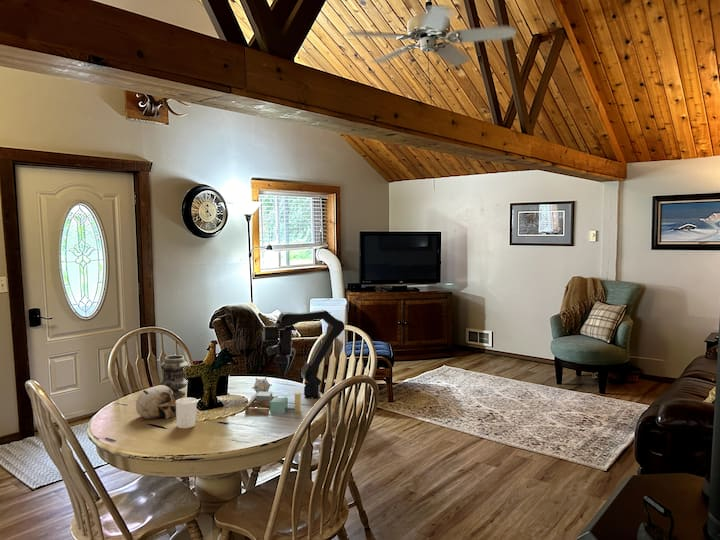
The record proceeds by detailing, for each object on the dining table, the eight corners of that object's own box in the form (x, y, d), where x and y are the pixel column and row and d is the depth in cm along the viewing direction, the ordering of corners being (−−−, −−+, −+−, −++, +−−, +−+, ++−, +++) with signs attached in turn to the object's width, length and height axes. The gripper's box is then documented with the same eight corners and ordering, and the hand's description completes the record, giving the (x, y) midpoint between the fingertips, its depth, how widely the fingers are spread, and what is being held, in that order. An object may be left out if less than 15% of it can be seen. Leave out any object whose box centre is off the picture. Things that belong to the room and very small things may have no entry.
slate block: (272, 402, 231) (272, 391, 231) (269, 407, 225) (269, 396, 225) (259, 402, 232) (259, 391, 231) (255, 406, 226) (255, 395, 225)
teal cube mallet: (302, 410, 222) (302, 392, 221) (298, 414, 216) (299, 396, 215) (274, 408, 223) (274, 390, 223) (270, 413, 217) (270, 394, 217)
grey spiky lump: (264, 403, 241) (269, 390, 236) (247, 396, 241) (251, 383, 236) (271, 389, 249) (275, 376, 243) (255, 382, 249) (259, 369, 243)
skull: (190, 410, 218) (187, 380, 216) (164, 428, 202) (161, 396, 200) (158, 407, 223) (155, 377, 221) (131, 424, 206) (127, 393, 204)
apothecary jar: (182, 399, 233) (182, 360, 232) (156, 398, 233) (156, 359, 232) (191, 391, 245) (191, 354, 244) (166, 390, 245) (166, 353, 244)
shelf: (277, 401, 233) (277, 393, 233) (268, 414, 215) (268, 406, 215) (256, 400, 234) (256, 393, 233) (245, 413, 216) (245, 405, 215)
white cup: (177, 430, 196) (177, 404, 195) (174, 423, 202) (174, 398, 202) (198, 427, 199) (198, 402, 199) (194, 420, 206) (194, 396, 206)
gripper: (272, 335, 245) (272, 367, 246) (263, 343, 226) (262, 378, 227) (295, 336, 244) (295, 368, 245) (287, 344, 226) (287, 379, 227)
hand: (284, 373), depth 236 cm, fingers open, 9 cm apart
